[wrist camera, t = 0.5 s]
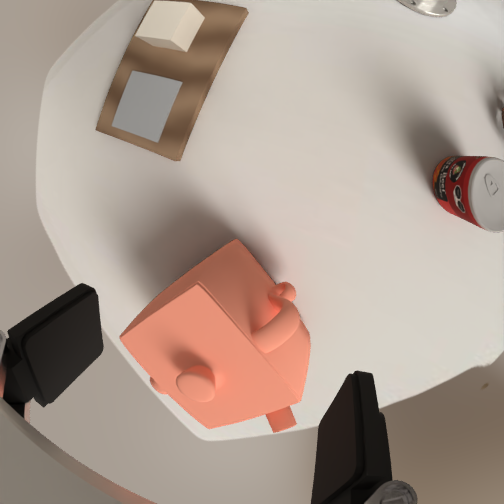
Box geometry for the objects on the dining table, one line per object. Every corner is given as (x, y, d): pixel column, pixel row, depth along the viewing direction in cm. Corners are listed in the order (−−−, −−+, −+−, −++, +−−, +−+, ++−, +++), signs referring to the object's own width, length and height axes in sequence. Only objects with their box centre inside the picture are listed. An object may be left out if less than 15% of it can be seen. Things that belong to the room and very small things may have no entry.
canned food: (445, 144, 29) (489, 141, 18) (483, 180, 28) (529, 190, 18) (420, 190, 31) (458, 202, 21) (459, 224, 31) (501, 247, 21)
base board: (158, 1, 29) (154, -3, 28) (248, 12, 28) (246, 8, 27) (101, 130, 38) (95, 130, 37) (180, 160, 37) (175, 161, 36)
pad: (133, 71, 33) (132, 70, 32) (182, 82, 32) (181, 81, 32) (112, 126, 36) (111, 126, 35) (158, 142, 35) (156, 142, 35)
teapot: (357, 349, 40) (368, 441, 24) (245, 397, 48) (218, 475, 31) (262, 214, 37) (219, 259, 20) (154, 295, 45) (86, 356, 28)
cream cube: (170, 13, 29) (154, 0, 24) (204, 17, 28) (190, 2, 24) (153, 46, 31) (134, 35, 26) (186, 52, 30) (170, 40, 26)
